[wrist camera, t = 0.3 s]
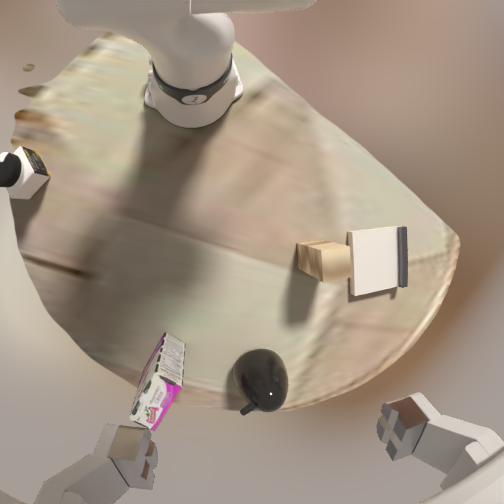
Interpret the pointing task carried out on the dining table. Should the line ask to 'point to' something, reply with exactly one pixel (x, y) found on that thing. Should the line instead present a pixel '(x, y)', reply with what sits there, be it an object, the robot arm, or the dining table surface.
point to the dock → (378, 259)
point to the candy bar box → (159, 382)
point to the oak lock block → (324, 260)
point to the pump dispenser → (261, 380)
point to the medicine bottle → (22, 173)
